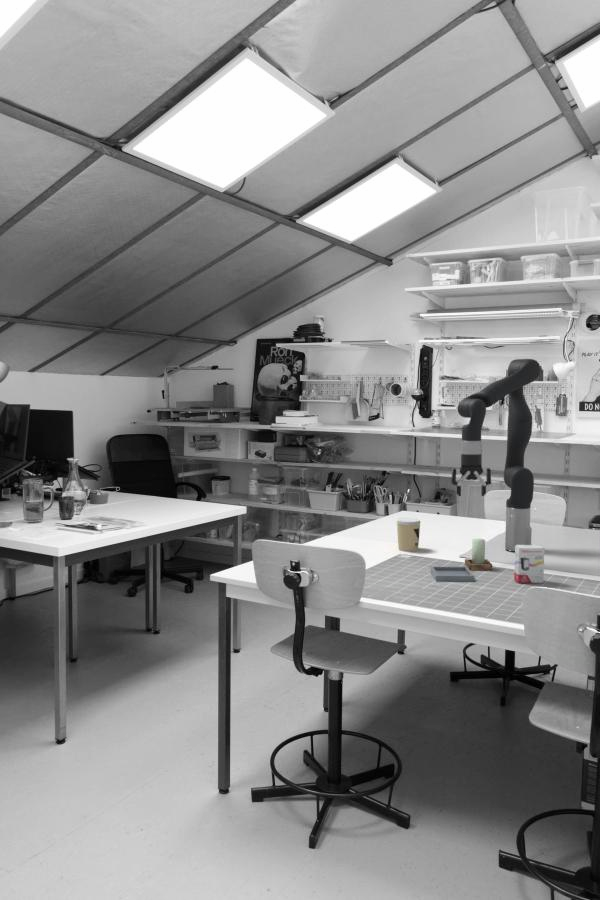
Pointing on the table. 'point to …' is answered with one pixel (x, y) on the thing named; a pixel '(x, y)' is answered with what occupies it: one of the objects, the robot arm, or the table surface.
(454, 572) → the tray
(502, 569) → the table surface
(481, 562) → the peg
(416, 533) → the coffee cup
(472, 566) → the socket
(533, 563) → the ink box
